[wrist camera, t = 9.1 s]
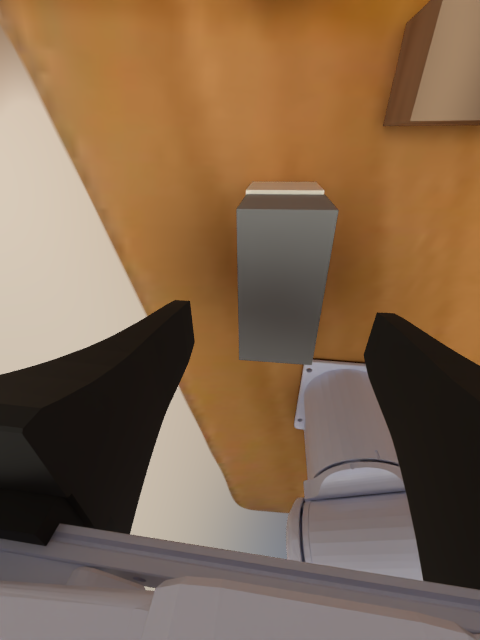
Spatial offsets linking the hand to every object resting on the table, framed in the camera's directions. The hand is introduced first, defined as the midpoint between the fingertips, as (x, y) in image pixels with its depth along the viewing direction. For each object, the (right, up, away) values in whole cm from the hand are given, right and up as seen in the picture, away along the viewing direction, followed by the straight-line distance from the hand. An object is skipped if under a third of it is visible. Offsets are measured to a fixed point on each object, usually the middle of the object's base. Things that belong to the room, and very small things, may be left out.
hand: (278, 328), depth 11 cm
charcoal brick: (+1, +3, +5) cm, 7 cm away
